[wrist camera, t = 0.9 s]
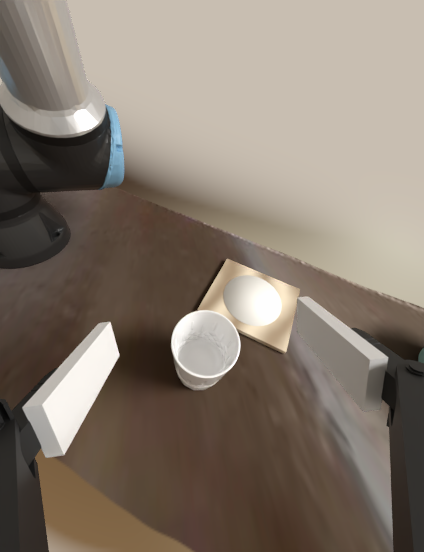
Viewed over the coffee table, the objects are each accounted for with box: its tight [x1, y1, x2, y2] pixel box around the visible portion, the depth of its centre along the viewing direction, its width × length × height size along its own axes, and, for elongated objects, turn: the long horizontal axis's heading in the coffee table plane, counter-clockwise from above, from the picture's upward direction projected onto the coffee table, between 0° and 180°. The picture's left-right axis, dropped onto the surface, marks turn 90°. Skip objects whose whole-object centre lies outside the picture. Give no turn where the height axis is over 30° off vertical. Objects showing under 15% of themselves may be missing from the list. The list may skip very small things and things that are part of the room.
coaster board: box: [197, 259, 300, 354], centre depth 40 cm, size 16×14×1 cm
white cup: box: [171, 310, 240, 390], centre depth 28 cm, size 8×8×10 cm
